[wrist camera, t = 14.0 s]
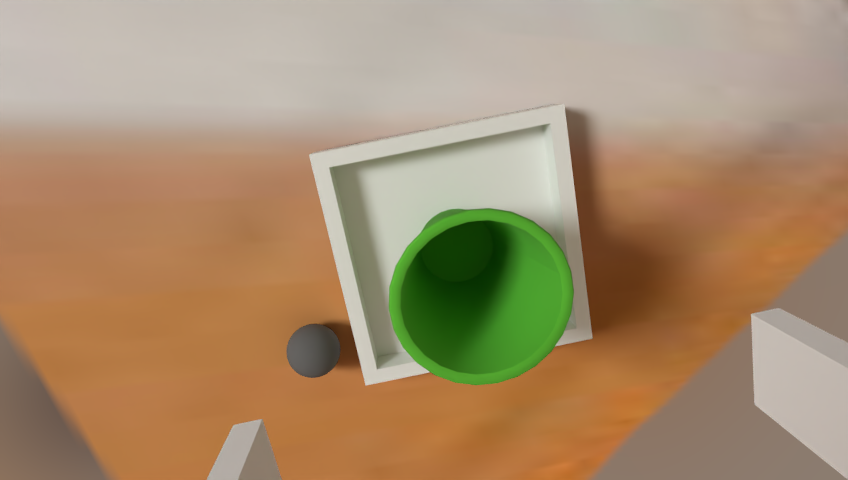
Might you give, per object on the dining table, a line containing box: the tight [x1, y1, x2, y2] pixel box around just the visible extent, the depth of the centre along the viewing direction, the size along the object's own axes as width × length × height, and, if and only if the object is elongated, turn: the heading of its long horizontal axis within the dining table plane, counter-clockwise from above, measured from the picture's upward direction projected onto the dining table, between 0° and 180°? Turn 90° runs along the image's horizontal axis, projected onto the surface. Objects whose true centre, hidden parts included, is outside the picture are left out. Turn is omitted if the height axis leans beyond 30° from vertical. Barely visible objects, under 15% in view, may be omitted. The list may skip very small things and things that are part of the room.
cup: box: [389, 208, 574, 385], centre depth 30 cm, size 9×9×11 cm
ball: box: [287, 324, 340, 378], centre depth 35 cm, size 4×4×4 cm
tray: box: [309, 104, 593, 385], centre depth 35 cm, size 16×16×2 cm
